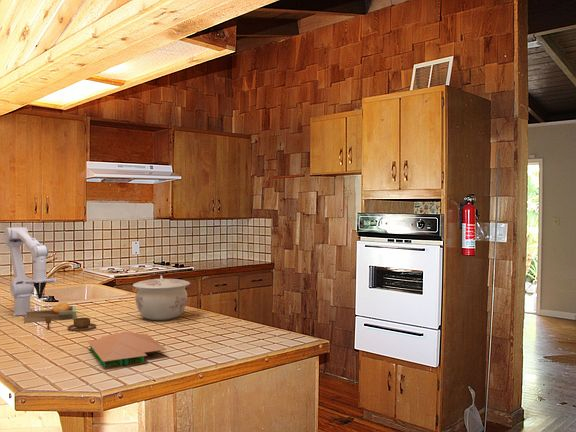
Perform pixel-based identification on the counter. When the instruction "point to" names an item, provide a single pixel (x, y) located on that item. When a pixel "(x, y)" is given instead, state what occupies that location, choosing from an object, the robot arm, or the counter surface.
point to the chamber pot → (161, 298)
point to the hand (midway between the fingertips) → (40, 298)
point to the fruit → (60, 308)
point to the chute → (50, 315)
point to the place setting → (76, 324)
